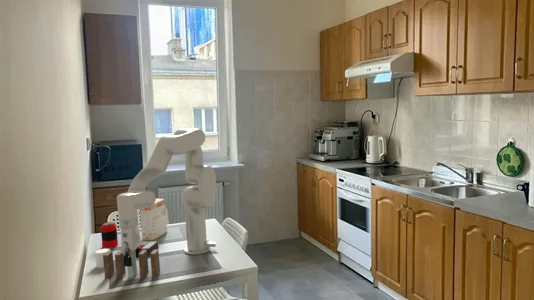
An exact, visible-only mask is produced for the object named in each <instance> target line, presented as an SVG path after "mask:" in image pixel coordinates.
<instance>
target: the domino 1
mask: <svg viewBox="0 0 534 300" xmlns="http://www.w3.org/2000/svg"><path fill="white" fill-rule="evenodd" d="M113 252H114V251H113V250H110V251H107V252H106V253H105V254H104V255H103V262H104V268H103V271H104V272H103V273H104V278H105V279H110V278H111V277H112V276H113V275H115V267H114V266H115V264H114V263H115V262H114V253H113Z"/></svg>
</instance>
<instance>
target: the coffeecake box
mask: <svg viewBox="0 0 534 300" xmlns="http://www.w3.org/2000/svg"><path fill="white" fill-rule="evenodd" d="M139 213H140V214H139V215H140V225H141V227H140V228H141V241H154V240H156V239H158V238H159V237H161V236H163V235H165V234H166V232H167V233H168V223H167V212H166V199H165V198H157V197H156V201H155V203H154V204H153V205H152V206H150V207H148V208H139Z"/></svg>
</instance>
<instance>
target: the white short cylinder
mask: <svg viewBox="0 0 534 300" xmlns="http://www.w3.org/2000/svg"><path fill="white" fill-rule="evenodd" d="M107 251H111V248H99V249H96V250H94V251H93V255H94V258H95V264H96V268H98V269H102V268H103V269H104V262H103V255H104V254H105V253H106V252H107Z"/></svg>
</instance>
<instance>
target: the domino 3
mask: <svg viewBox="0 0 534 300" xmlns="http://www.w3.org/2000/svg"><path fill="white" fill-rule="evenodd" d="M128 253H129V252H128ZM130 257H131V258H132V266H129V267H127V277H128V278H129V279H130V278H135V276H136V275H137V273H138V267H137V266H138V265H137V258H136V253H135V250H134V251H131V255H130Z"/></svg>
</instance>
